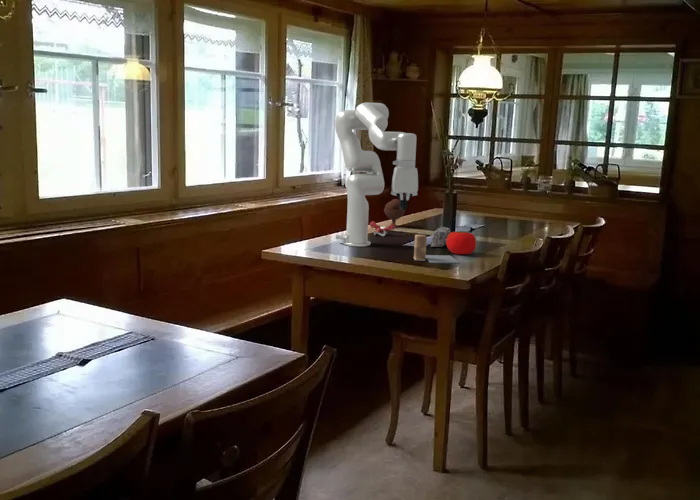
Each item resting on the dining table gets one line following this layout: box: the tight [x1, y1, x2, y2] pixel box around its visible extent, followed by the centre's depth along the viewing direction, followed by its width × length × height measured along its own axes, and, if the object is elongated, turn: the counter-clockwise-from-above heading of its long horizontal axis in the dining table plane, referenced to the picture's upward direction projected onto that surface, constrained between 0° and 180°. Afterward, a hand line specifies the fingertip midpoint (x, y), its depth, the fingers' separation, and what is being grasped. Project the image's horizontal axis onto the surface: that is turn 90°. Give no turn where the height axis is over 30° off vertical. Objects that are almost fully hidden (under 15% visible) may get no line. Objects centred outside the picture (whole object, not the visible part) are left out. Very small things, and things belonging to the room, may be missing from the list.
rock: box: [430, 225, 451, 248], centre depth 335 cm, size 16×8×10 cm, turn 146°
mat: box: [425, 254, 460, 264], centre depth 305 cm, size 12×14×1 cm
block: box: [413, 234, 428, 261], centre depth 303 cm, size 4×4×10 cm
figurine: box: [368, 220, 396, 237], centre depth 357 cm, size 15×12×7 cm
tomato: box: [445, 230, 477, 255], centre depth 318 cm, size 11×13×10 cm
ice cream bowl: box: [383, 198, 406, 229], centre depth 381 cm, size 11×11×15 cm
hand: (403, 209), depth 298 cm, fingers closed
